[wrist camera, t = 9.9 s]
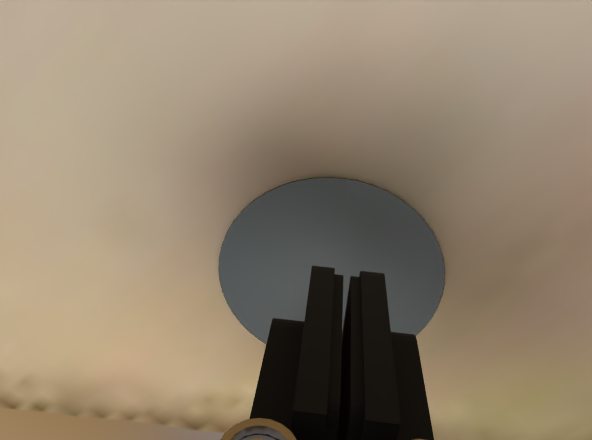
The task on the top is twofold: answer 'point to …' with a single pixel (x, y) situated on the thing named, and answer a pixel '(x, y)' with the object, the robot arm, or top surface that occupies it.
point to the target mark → (328, 252)
